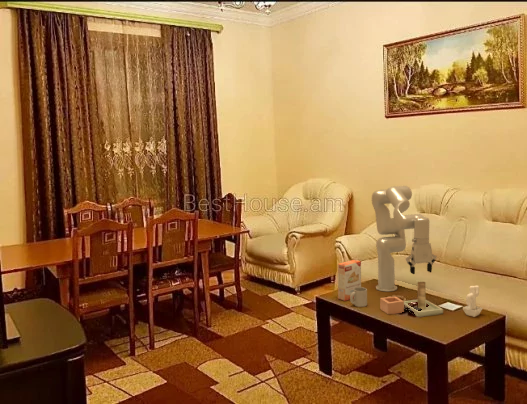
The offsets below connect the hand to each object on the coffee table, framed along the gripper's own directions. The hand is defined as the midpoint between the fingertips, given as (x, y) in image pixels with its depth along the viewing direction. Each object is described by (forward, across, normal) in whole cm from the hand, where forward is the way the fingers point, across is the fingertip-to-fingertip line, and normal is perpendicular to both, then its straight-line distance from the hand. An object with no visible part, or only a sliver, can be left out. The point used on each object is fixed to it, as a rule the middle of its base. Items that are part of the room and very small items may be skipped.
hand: (421, 272), depth 268 cm
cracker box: (+21, -27, +31) cm, 46 cm away
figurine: (+20, +20, -16) cm, 32 cm away
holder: (+20, -15, +3) cm, 25 cm away
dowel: (+19, 0, -1) cm, 19 cm away
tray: (+20, 0, -1) cm, 20 cm away
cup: (+21, -28, +17) cm, 39 cm away
